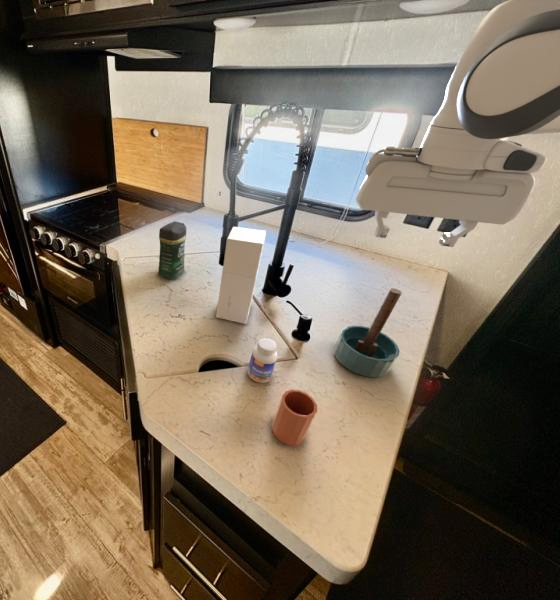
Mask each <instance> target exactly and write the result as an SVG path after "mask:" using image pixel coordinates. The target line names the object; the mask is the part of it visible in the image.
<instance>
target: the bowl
mask: <svg viewBox="0 0 560 600" xmlns="http://www.w3.org/2000/svg"><path fill="white" fill-rule="evenodd" d="M369 329H370V327H369V326H363V325H350V326H346V327H344V328H343V329H342V330H341V332H340V334H339V336H338V339H337V341H336V344H335V346H334V348H333V354H334V356H335V358H336V360H337V361H338V362H339V363H340V364H341V365H342V366H343V367H344V368H346V369H347V370H349V371H351V372H353V373H355V374H358V375H360V376H363V377H369V378H380V377H383V376H385V375H387V374H388V373H389V372H390V371H391V369H392V367H393V366H394V364H395V362H396V361H397V360H398V358H399V356H400V348H399V345H398V344H397V343H396V342H395V340H393V338H391V337H390V336H388V335H387V334H385V333H383V332H382V331H381V332H380V334H379V336H378V338H377V340H376V341H375V343H376V344H378V347H377V349H376V351H375V353H374V355H373V356H372V357H368V356H366V355H363V354H361V353H359V352H357V351H356V350H354V348H355V346H356V344H357V342H358V340H362V341H364V339H365V337H366V335H367V333H368V331H369Z"/></svg>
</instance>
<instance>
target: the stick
mask: <svg viewBox="0 0 560 600" xmlns="http://www.w3.org/2000/svg"><path fill="white" fill-rule="evenodd" d="M402 294H403V292H402V291H401V290H400V289H397V288H393V287H391V288H389V290H388V292H387V293H386V296H385V298H384V300H383V302H382V304H381V306H380V307H379V310H378V311H377V313H376V315H375V317H374V319H373V321H372V323H371V325H370V327H369V328H370V329H369V331H368V333H367V335H366V337H365V339H364V341H362V340H358V342H357V344H356V346H355V348H354V350H356V351H357V352H359V353H361V354H363V355H366V356H368V357H372V356H373V355H374V353H375V351H376V349H377V347H378V344H376V343H375V341H376V340H377V338H378V336H379V334H380V332H382V331H383V329H384V327H385V325H386V323H387V321H388V319H389V317H390V316H391V314H392V312H393V310H394V308H395V307H396V305H397V302H398V301H399V299H400V297H401V295H402Z"/></svg>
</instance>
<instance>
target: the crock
mask: <svg viewBox="0 0 560 600" xmlns="http://www.w3.org/2000/svg"><path fill="white" fill-rule="evenodd" d="M317 413H318V404H317V402H316V400H315V399H314V398H313V397H312V396H311V395H309V394H308V393H307V392H304V391H302V390H300V389H289V390H286V391H285V392H284V393H282V395H281V399H280V400H279V403H278V405H277V409H276V412H275V415H274V418H273V421H272V424H271V431H272V433H273V435H274V437H275V438H276V439H277V440H278V441H279V442H281V443H282V444H285V445H287V446H291V447H292V446H299V445H300V444H302V443H303V441H304V439H305V438H306V436H307V434H308V431H309V430H310V427H311V425H312V423H313V421H314V419H315V417H316V415H317Z"/></svg>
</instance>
